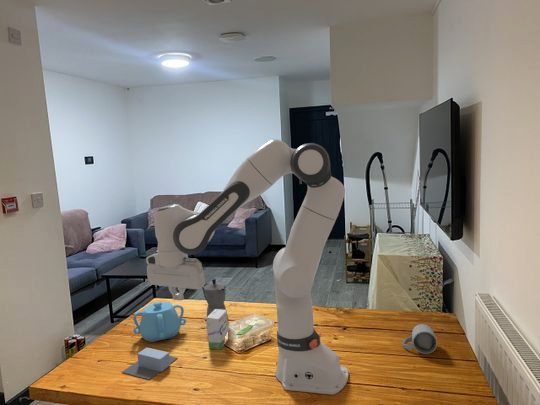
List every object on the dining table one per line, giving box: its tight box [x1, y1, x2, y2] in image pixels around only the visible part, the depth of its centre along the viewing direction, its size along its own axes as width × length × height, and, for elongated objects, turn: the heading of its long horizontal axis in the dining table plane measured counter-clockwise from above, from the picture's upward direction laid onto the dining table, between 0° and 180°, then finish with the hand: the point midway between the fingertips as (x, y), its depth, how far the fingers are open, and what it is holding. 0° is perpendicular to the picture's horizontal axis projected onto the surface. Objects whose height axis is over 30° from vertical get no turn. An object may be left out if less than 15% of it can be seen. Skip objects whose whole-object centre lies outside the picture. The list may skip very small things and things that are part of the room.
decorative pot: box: [132, 300, 187, 343], centre depth 161 cm, size 16×16×14 cm
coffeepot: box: [201, 278, 229, 320], centre depth 171 cm, size 15×9×18 cm, turn 44°
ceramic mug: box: [402, 323, 438, 355], centre depth 139 cm, size 11×8×8 cm
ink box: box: [205, 309, 229, 350], centre depth 151 cm, size 8×5×12 cm, turn 164°
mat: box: [121, 355, 178, 381], centre depth 140 cm, size 12×14×1 cm
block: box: [137, 347, 172, 373], centre depth 138 cm, size 4×4×10 cm
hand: (178, 299), depth 129 cm, fingers closed
